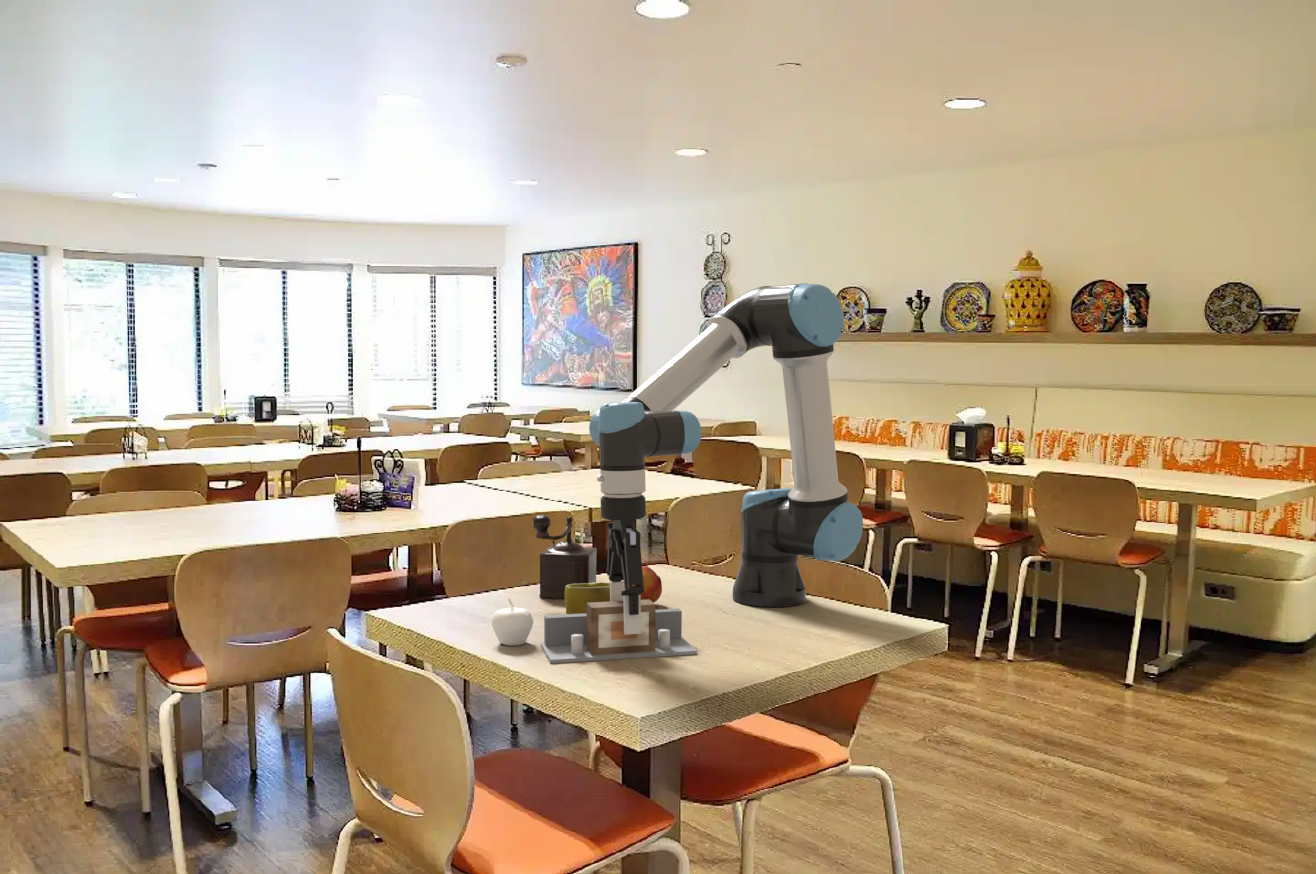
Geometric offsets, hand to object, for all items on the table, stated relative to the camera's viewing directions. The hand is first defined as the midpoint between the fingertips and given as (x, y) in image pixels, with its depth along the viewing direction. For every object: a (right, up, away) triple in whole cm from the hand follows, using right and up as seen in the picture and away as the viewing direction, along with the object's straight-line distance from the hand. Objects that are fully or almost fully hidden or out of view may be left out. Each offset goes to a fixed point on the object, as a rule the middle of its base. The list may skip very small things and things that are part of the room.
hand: (625, 626), depth 184 cm
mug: (-7, -4, +21) cm, 22 cm away
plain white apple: (-20, -5, +7) cm, 22 cm away
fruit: (+2, -3, +37) cm, 37 cm away
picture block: (-1, -4, +1) cm, 4 cm away
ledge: (-1, -5, +3) cm, 6 cm away
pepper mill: (-14, -2, +45) cm, 47 cm away
